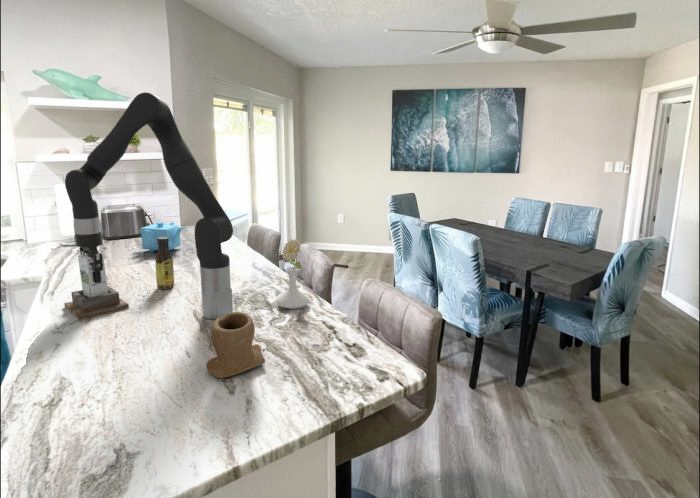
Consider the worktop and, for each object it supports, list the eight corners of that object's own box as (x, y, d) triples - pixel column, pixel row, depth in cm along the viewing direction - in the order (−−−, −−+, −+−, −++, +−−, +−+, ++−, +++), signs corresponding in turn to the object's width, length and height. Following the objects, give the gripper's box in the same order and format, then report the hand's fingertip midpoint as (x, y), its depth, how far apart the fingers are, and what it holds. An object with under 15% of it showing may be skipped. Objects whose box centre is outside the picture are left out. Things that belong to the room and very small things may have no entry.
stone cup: (219, 388, 102) (216, 330, 99) (201, 367, 111) (198, 313, 108) (276, 369, 111) (275, 315, 108) (255, 351, 120) (254, 301, 117)
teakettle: (139, 249, 224) (136, 221, 221) (176, 244, 235) (174, 218, 232) (147, 257, 210) (144, 227, 206) (187, 252, 220) (185, 224, 217)
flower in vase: (273, 301, 157) (272, 234, 151) (303, 298, 162) (303, 233, 156) (282, 315, 146) (281, 243, 140) (314, 311, 150) (315, 240, 144)
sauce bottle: (168, 291, 165) (164, 240, 160) (153, 289, 166) (149, 239, 161) (178, 285, 171) (174, 236, 166) (164, 284, 172) (160, 235, 168)
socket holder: (128, 307, 148) (127, 292, 147) (79, 320, 137) (77, 304, 136) (112, 296, 158) (110, 282, 156) (64, 307, 147) (62, 292, 145)
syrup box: (109, 295, 147) (104, 253, 144) (91, 300, 142) (86, 257, 139) (100, 291, 150) (95, 251, 147) (82, 296, 145) (76, 254, 142)
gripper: (108, 233, 139) (114, 282, 143) (92, 226, 148) (98, 273, 152) (82, 236, 134) (88, 287, 138) (67, 229, 143) (74, 277, 147)
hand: (93, 279), depth 145 cm, fingers closed on syrup box, 6 cm apart
